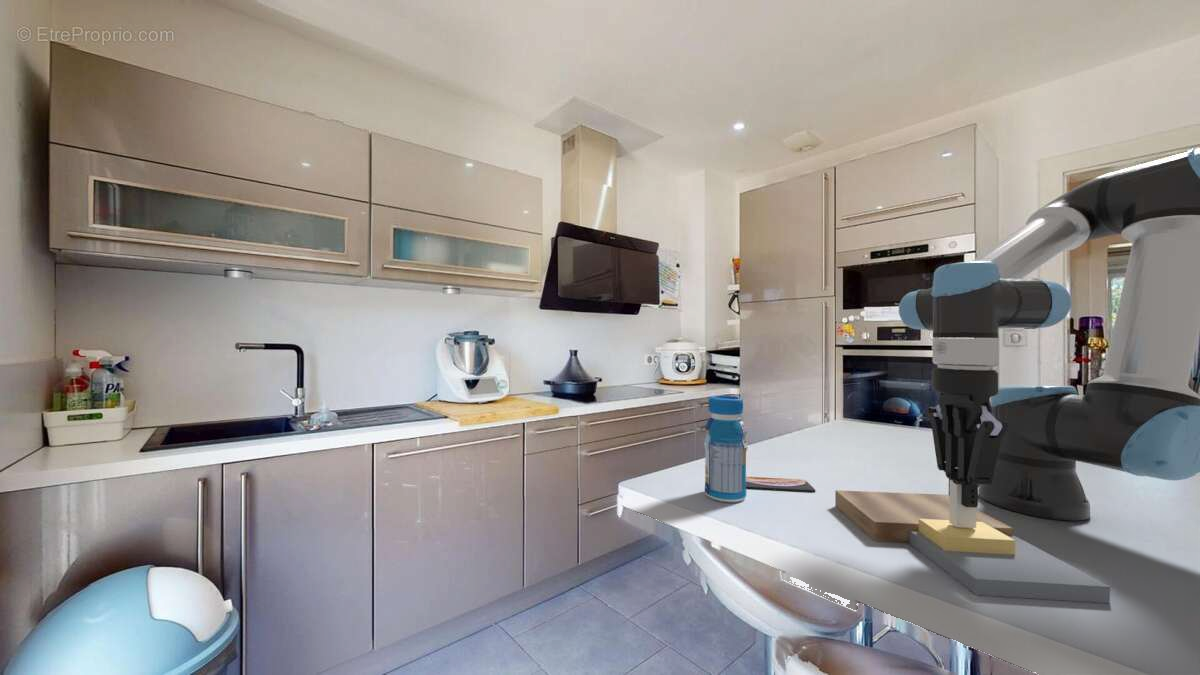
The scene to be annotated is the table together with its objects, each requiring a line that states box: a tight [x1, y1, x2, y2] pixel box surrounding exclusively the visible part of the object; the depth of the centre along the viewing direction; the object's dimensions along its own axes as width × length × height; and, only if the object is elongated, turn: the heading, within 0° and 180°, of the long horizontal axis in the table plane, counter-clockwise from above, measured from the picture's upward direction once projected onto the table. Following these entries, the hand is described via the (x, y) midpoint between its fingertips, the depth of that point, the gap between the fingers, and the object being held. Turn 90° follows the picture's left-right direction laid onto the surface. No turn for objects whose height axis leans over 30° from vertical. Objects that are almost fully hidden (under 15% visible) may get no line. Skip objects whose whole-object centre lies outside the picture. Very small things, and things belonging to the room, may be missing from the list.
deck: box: [834, 489, 1014, 544], centre depth 73 cm, size 20×14×3 cm
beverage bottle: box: [703, 395, 748, 503], centre depth 86 cm, size 8×8×20 cm
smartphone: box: [746, 476, 816, 494], centre depth 93 cm, size 8×1×15 cm
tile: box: [919, 519, 1015, 555], centre depth 63 cm, size 9×6×2 cm, turn 83°
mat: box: [909, 531, 1111, 604], centre depth 59 cm, size 15×13×2 cm
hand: (962, 525), depth 63 cm, fingers closed
